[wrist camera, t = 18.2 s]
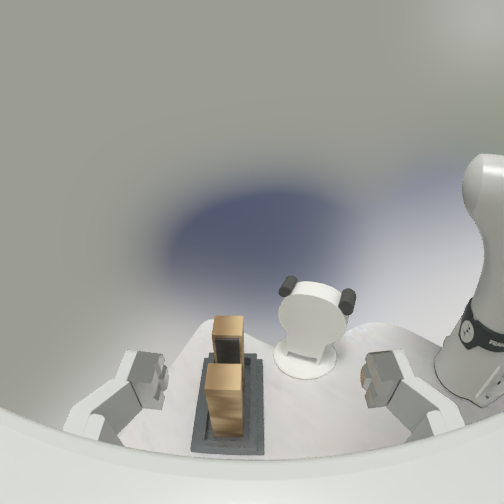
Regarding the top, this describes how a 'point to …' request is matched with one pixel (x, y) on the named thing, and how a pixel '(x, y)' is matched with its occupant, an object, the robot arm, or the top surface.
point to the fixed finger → (229, 341)
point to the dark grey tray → (251, 415)
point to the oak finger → (225, 399)
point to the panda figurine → (311, 327)
